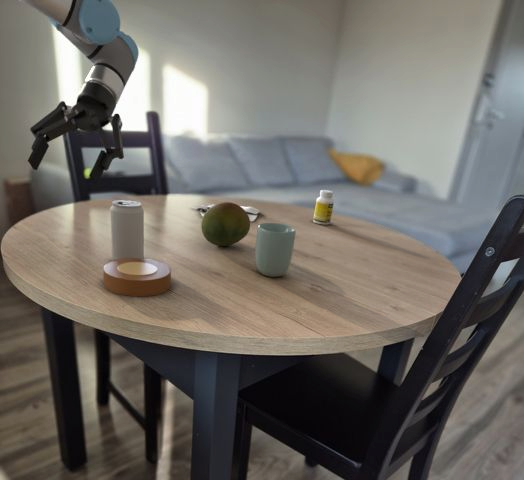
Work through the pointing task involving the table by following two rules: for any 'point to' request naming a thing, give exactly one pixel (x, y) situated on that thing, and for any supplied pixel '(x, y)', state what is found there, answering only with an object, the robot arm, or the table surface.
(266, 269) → the cup
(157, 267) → the brown round flat disc
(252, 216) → the cloth
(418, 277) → the table surface
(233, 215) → the fruit
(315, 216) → the supplement bottle
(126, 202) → the beverage can
